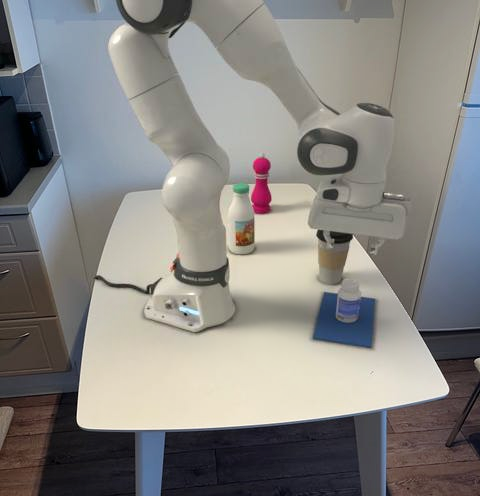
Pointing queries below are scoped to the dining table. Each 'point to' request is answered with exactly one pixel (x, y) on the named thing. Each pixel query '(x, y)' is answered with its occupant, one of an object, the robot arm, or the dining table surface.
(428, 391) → the dining table surface
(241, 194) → the milk bottle
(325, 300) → the blue pad
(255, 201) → the pepper mill
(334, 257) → the coffee cup
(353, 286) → the pill bottle
